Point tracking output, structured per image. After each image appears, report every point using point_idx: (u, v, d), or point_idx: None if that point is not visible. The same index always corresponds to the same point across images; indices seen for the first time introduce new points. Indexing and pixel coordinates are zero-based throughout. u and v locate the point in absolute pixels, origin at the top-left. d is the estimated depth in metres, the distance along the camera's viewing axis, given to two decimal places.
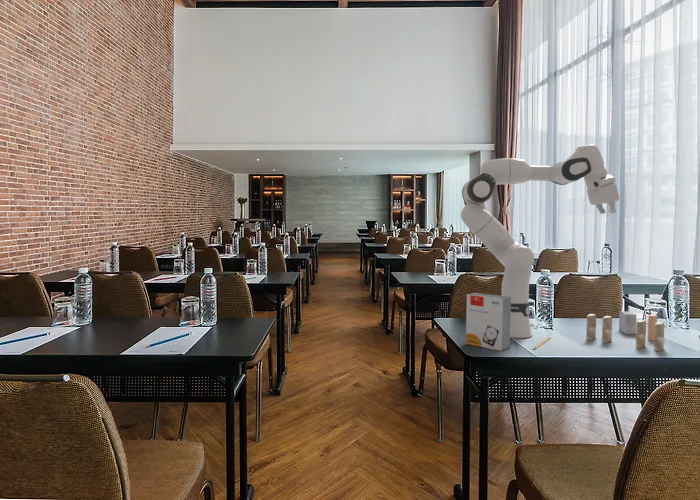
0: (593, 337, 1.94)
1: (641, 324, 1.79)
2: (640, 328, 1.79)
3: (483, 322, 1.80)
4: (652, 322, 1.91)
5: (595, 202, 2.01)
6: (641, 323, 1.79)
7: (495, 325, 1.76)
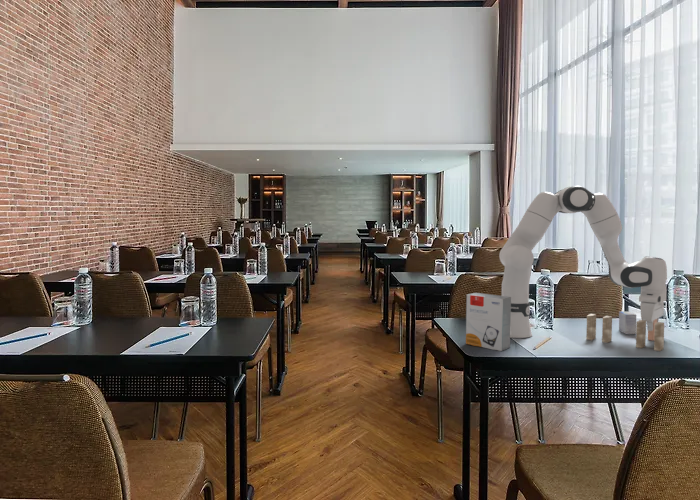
0: (593, 337, 1.94)
1: (641, 324, 1.79)
2: (640, 328, 1.79)
3: (483, 322, 1.80)
4: None
5: None
6: (641, 323, 1.79)
7: (495, 325, 1.76)
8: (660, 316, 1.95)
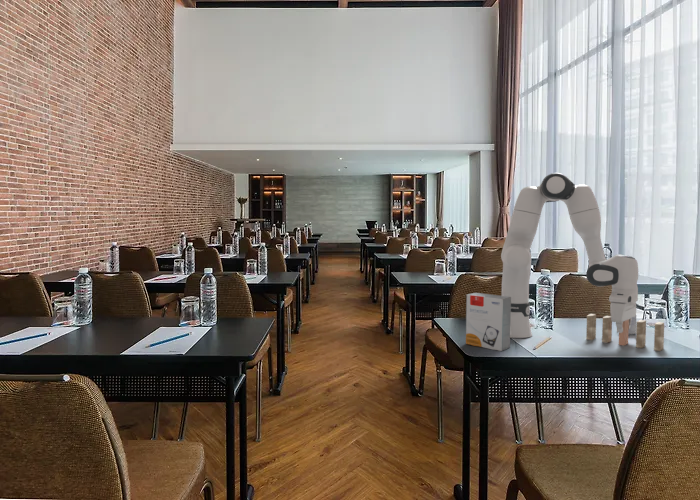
0: (593, 337, 1.94)
1: (641, 324, 1.79)
2: (640, 328, 1.79)
3: (483, 322, 1.80)
4: (623, 326, 1.84)
5: None
6: (641, 323, 1.79)
7: (495, 325, 1.76)
8: None
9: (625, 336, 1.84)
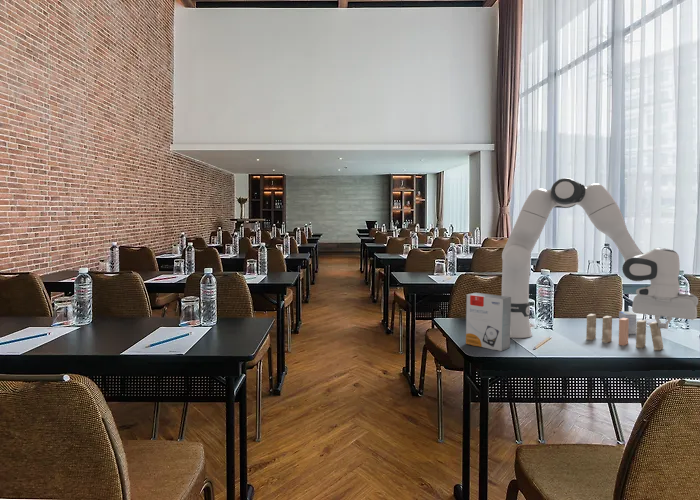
0: (593, 337, 1.94)
1: (641, 324, 1.79)
2: (640, 328, 1.79)
3: (483, 322, 1.80)
4: (623, 326, 1.84)
5: None
6: (641, 323, 1.79)
7: (495, 325, 1.76)
8: (677, 317, 1.71)
9: (625, 336, 1.84)
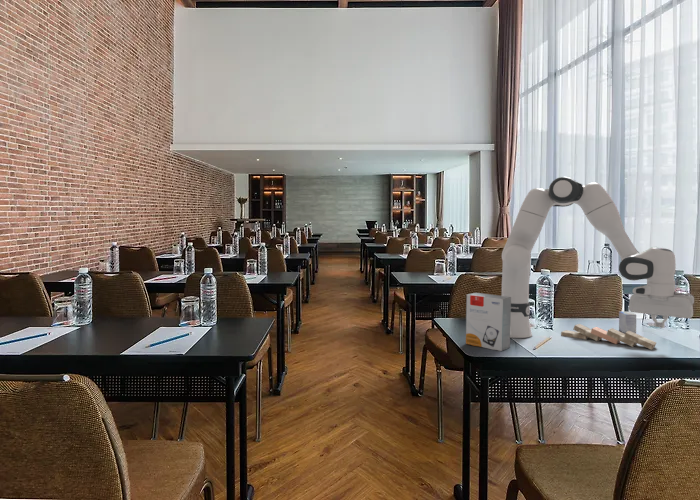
0: None
1: (610, 331, 1.87)
2: (613, 334, 1.86)
3: (483, 322, 1.80)
4: (598, 332, 1.90)
5: None
6: (609, 331, 1.87)
7: (495, 325, 1.76)
8: (673, 316, 1.72)
9: None
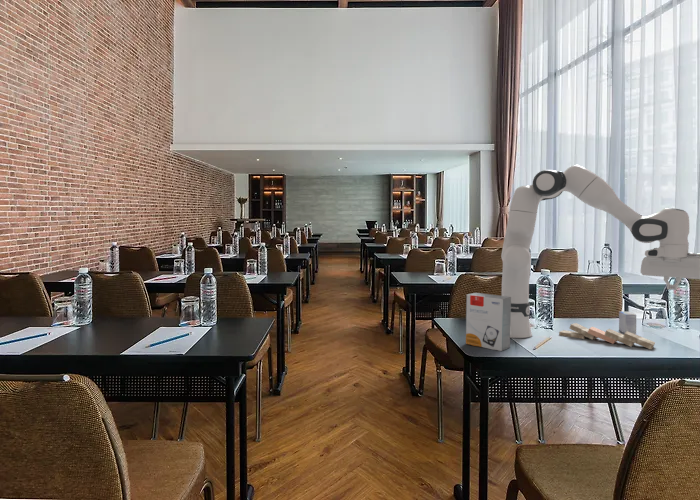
0: None
1: (608, 332, 1.87)
2: (612, 334, 1.86)
3: (483, 322, 1.80)
4: (595, 332, 1.90)
5: None
6: (607, 332, 1.87)
7: (495, 325, 1.76)
8: (686, 277, 1.69)
9: None
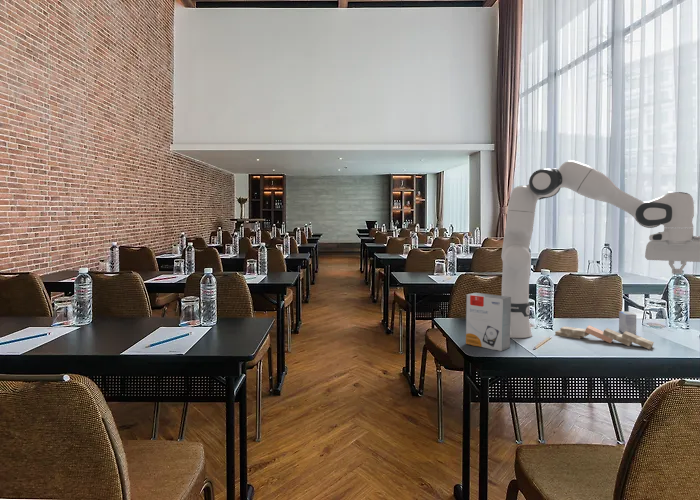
0: None
1: (606, 331, 1.87)
2: (610, 334, 1.87)
3: (483, 322, 1.80)
4: (592, 331, 1.90)
5: None
6: (605, 331, 1.88)
7: (495, 325, 1.76)
8: (692, 261, 1.68)
9: None
